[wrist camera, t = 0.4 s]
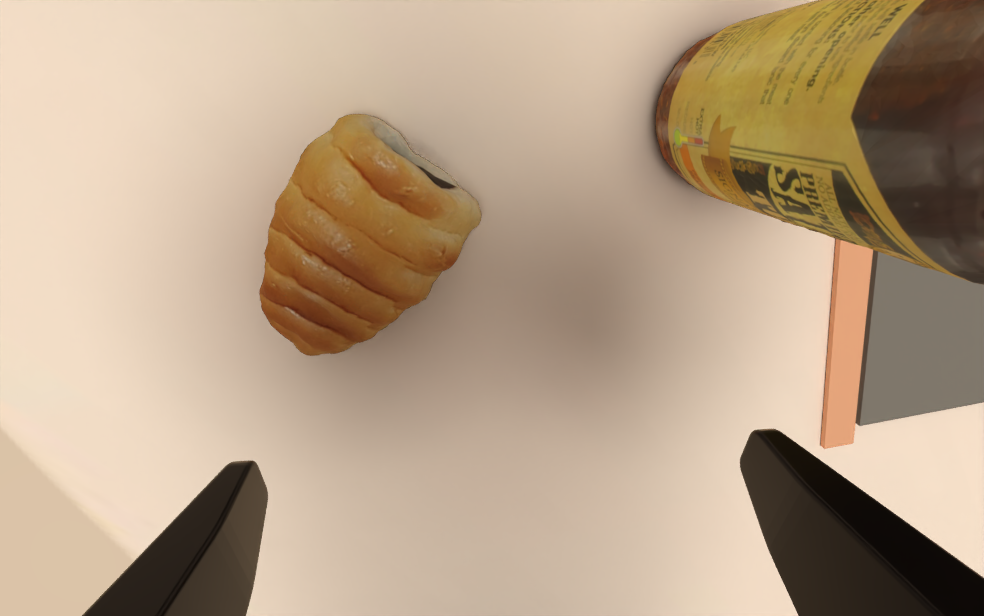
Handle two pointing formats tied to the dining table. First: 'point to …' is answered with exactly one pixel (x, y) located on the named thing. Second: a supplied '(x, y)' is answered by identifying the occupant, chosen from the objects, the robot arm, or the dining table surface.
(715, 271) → the dining table surface
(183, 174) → the dining table surface
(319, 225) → the pastry
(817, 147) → the sauce bottle
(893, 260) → the charcoal mat
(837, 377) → the terracotta line
